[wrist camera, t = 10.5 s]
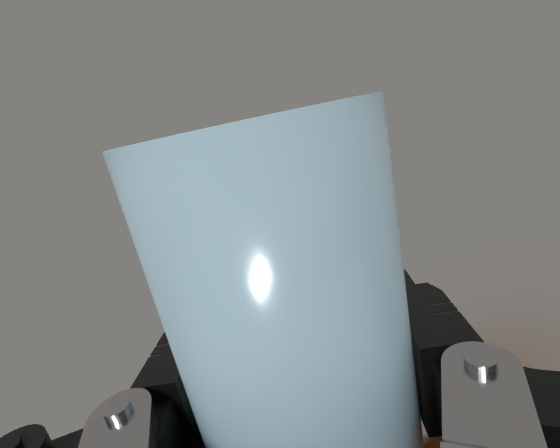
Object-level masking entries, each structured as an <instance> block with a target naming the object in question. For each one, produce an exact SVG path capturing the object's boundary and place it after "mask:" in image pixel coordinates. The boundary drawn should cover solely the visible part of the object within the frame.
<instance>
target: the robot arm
mask: <svg viewBox="0 0 560 448" xmlns="http://www.w3.org/2000/svg"><path fill="white" fill-rule="evenodd" d="M404 277H405V286H406V295H407V304H408V312H409V321H410V330H411V339H412V348H413V356H414V365H415V374H416V383H417V391H418V400H419V409H420V417H421V419H422V422H423V424H424V427H425V429H426V431H427V434H428V436H429V437H437V436H442V439H440V448H560V372H559V371H547V370H538V369H532V368H527V367H523V366H522V364H521V363H520V361H519V360H518V359H517V358H516V357H515V356H514V355H513V354H511V353H510V352H508V351H507V350H505V349H503V348H501V347H498V346H496V345H492V344H489V343H485V342H484V341H483V340H482V339H481V338H480V336H479V335H478V334H477V333H476V331H475V330H474V329H473V328H472V327H471V325H470V324H469V323H468V322H467V320H466V319H465V318H464V317H463V316H462V314H461V313H460V312H458V310H457V308H456V307H455V306H454V305H453V303H451V302H450V300H449V298H448V297H447V296H446V295H445V294H444V292H443V291H442V290H440V289H438V288H436V287H435V286H433V285H431V284H429V283H421V284H415V283H414V282H413V280H412V279H411V277H410V276H409V275H408V273H407V272H406V270H404ZM0 448H205V445H204V442H203V440H202V437H201V434H200V431H199V428H198V425H197V422H196V420H195V417H194V414H193V411H192V408H191V405H190V402H189V399H188V397H187V394H186V391H185V388H184V385H183V382H182V379H181V377H180V374H179V371H178V368H177V365H176V362H175V359H174V356H173V354H172V351H171V348H170V345H169V342H168V339H167V336H166V334H165V333H164V334H163V335H162V337H161V339H160V340H159V342H158V343H157V347H155V348H154V350H153V352H152V353H151V357H149V358H148V360H147V362H146V363H145V365H144V366H143V368H142V370H141V371H140V373H139V375H138V376H137V378H136V380H135V381H134V383H133V385H132V386H131V388H130V389H127V390H124V391H122V392H119V393H117V394H115V395H113V396H111V397H110V398H108V399H107V400H105V401H104V402H102V403H101V404H100V405H99V406H98V407H97V408H96V409H95V410H94V411H93V412H92V413H91V415H90V416H89V418H88V419H87V421H86V423H85V426H84V428H83V429H80V430H78V431H75V432H73V433H70V434H67V435H65V436H62V437H59V438H57V439H54V440H52V441H51V439H50V437H49V435H48V433H47V431H46V429H45V428H44V427H43V426H42V425H38V424H33V425H27V426H24V427H21V428H18V429H16V430H14V431H12V432H10V433H8V434H6V435H4V436H3V437H1V438H0Z"/></svg>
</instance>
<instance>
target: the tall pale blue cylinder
mask: <svg viewBox="0 0 560 448" xmlns="http://www.w3.org/2000/svg"><path fill="white" fill-rule="evenodd" d="M102 153H103V156H104V159H105V162H106V164H107V167H108V170H109V173H110V176H111V179H112V181H113V184H114V187H115V190H116V193H117V196H118V199H119V201H120V205H121V207H122V210H123V213H124V216H125V219H126V221H127V225H128V227H129V230H130V233H131V236H132V239H133V242H134V245H135V247H136V250H137V253H138V256H139V259H140V262H141V265H142V268H143V270H144V273H145V276H146V279H147V282H148V285H149V288H150V291H151V293H152V296H153V299H154V302H155V305H156V308H157V311H158V313H159V316H160V319H161V322H162V325H163V328H164V330H165V334H166V336H167V339H168V342H169V345H170V348H171V351H172V354H173V356H174V359H175V362H176V365H177V368H178V371H179V374H180V377H181V379H182V382H183V385H184V388H185V391H186V394H187V397H188V399H189V402H190V405H191V408H192V411H193V414H194V417H195V420H196V422H197V425H198V428H199V431H200V434H201V437H202V440H203V442H204V445H205V448H424V444H423V435H422V427H421V418H420V409H419V400H418V391H417V383H416V374H415V365H414V356H413V348H412V339H411V330H410V321H409V312H408V304H407V295H406V286H405V277H404V269H403V260H402V251H401V243H400V233H399V225H398V216H397V208H396V198H395V190H394V182H393V172H392V164H391V154H390V146H389V137H388V129H387V119H386V110H385V102H384V94H383V91H382V92H376V93H371V94H366V95H360V96H355V97H350V98H345V99H340V100H335V101H331V102H326V103H321V104H316V105H311V106H307V107H302V108H297V109H292V110H288V111H283V112H278V113H274V114H269V115H265V116H260V117H256V118H250V119H246V120H241V121H236V122H232V123H227V124H223V125H218V126H213V127H209V128H204V129H200V130H195V131H191V132H186V133H182V134H177V135H173V136H168V137H164V138H159V139H155V140H150V141H146V142H141V143H138V144H133V145H128V146H124V147H120V148H116V149H112V150H108V151H104V152H102Z"/></svg>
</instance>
